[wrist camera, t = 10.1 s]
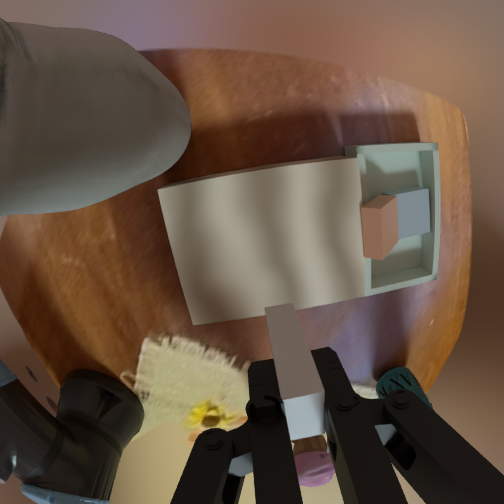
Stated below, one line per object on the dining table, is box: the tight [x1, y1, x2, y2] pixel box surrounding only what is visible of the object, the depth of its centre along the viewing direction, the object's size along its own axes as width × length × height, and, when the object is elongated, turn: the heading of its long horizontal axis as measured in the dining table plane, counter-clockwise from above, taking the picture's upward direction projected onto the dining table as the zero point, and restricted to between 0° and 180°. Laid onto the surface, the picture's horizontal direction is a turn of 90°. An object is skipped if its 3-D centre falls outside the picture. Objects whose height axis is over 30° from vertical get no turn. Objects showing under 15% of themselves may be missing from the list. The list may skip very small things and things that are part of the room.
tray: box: [344, 142, 440, 297], centre depth 30 cm, size 10×16×4 cm, turn 9°
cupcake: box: [293, 434, 335, 487], centre depth 40 cm, size 9×9×10 cm
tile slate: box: [383, 186, 430, 239], centre depth 30 cm, size 5×5×2 cm
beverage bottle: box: [376, 367, 433, 410], centre depth 31 cm, size 6×7×20 cm
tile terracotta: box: [361, 195, 399, 260], centre depth 27 cm, size 5×5×2 cm
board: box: [158, 156, 365, 325], centre depth 29 cm, size 18×14×5 cm
